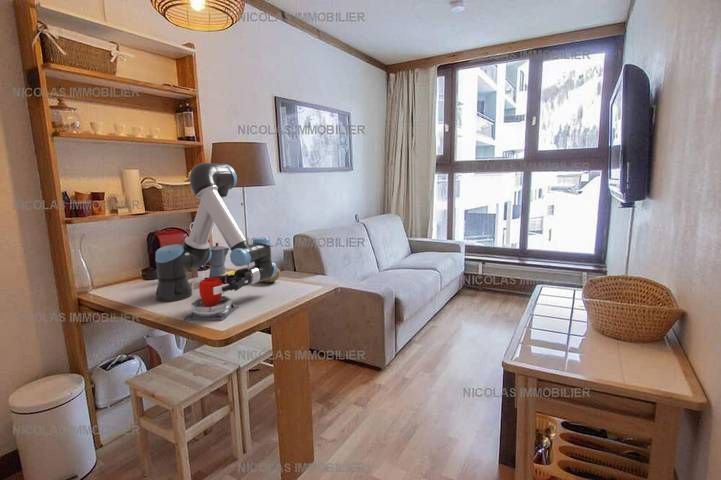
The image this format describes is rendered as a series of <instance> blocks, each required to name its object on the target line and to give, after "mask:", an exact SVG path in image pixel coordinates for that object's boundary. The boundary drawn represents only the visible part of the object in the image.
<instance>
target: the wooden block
mask: <svg viewBox="0 0 721 480" xmlns="http://www.w3.org/2000/svg"><path fill="white" fill-rule="evenodd" d="M198 277H199V271H198V267H197V268H193V269H190V270H187V271H186V278H187V280H190V279H195V278H198Z"/></svg>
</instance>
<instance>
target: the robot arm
mask: <svg viewBox="0 0 721 480" xmlns="http://www.w3.org/2000/svg"><path fill="white" fill-rule="evenodd" d="M237 176H238V175H237V173H236V171H235V169H234V167H232V166H231V165H229V164H226V163H225V164H224V163H221V162H220V163H211V162H210V163H209V162H201V163H197V164H196V165H194V166H193V168H192V169H191V171H190V173H189V183H190V188H191V189H192V192H193V193H194V195H195V197H196V198H197V199H199V200H200V202H199V205H198V207H197V211H196V214H195V217H194V221H193V224H192V227H191V230H190V232H189V233H190V234H189V236H188V237H185V239H184V241H183V243H182V244H178V243H177V244H171V245H165V246H162V247H160V248H158V249H157V250H156V251H155V254H154V255H155V265H156V273H157V281H158V282H157V287H156V291H155V300H156V301H157V302H162V303H163V302H175V301H180V300H184V299H187V298H189V297H191V296H192V295H193V291H194V290H197V289H199V284H200V281H201V280H199V281H193V282H192V283H191V285H190V283H189V281H188V279H187V278H186V272H187V271H188V270H190V269H193V268H197V269H198V268H201V267H203V266H204V265H207V264H206V263H208V262H209V263H210V259H211V255H212V252H211V251H210V250H211V248H210V247H211V246H210V241H209V239H210V236H211V233H212V230H213V227H214V224H215V226H216V227H217V230H218V232H219V233H220V234H221V236H222V238H223V239H224V240H225V242H226V244H227V246H228V248H229V250H230V251H231V252H230V254H229V259H230V262H231V263H232V264H233V265H234V266H236V267H243V266H246V267H243V268H239V269H237V270H236V271H234V273H235V274H234V275H229V276H228V274H226V275H222V276H215V277H204V278H203V280H204V279H208V278H219V279H220V280H221V281H222V284H224V285H221V286H217V287H214V288H213V294H214V295H216V294H220V293H222V294H223V292H224V293H226V292H229V291H235V292H236V291H238V290H240V289H241V288H243V287H246V286H249V285H254V284H256V283H258V282H263V281H262V280H266V279H269V278H272V277H274V276H275V275H276V274H277V268H278V267H277V264H276V263H275V262H274V261H272V250H271V249H272V246H271V239H270V238H269V237H266V236H258V237H255V238H253V239H252V244H249V242H248V240H247V239H246V237H245V236H244V233H243V232H242V230H241V229H240V227H239V225H238V223H237V222H236V220H235V218H234V216H233V215H232V214H231V212H230V210H229V208H228V206H227V205H226V203H225V202H224V200H223V199H224V198H226V197H227V195H228V193H229V190H232V189H233V188H234V187H236V185H237V181H238V177H237ZM252 263H254V265H251V266H247V265H249V264H252ZM225 281H226V282H227V283H226V282H225Z"/></svg>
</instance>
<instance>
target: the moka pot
mask: <svg viewBox="0 0 721 480" xmlns="http://www.w3.org/2000/svg"><path fill="white" fill-rule="evenodd" d="M210 248H211V250H210V251H211V252H212V255H211V259H210V260H209V262H208V263H206V264H205V265H209V264H210V268H209V277H215V276H221V275H223V274H225V273H227V272H226V265H225V262H226V257H227V255H228V252H229V250H230V248H229V247H227V246H222V245H221V246H220V245H219V242H216V243H215V245H214V246H210Z"/></svg>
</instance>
